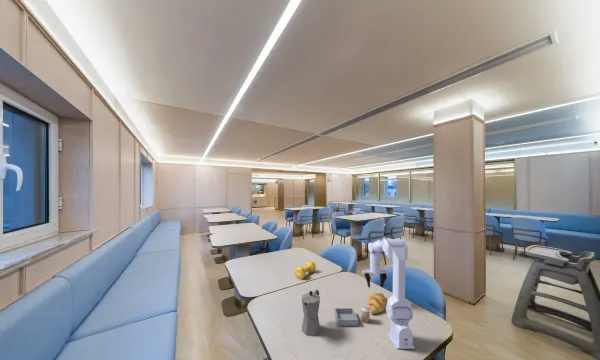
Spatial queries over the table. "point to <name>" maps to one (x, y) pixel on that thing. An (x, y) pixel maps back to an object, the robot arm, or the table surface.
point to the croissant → (377, 303)
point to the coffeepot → (311, 313)
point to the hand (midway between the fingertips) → (375, 286)
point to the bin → (345, 317)
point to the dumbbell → (305, 270)
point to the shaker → (365, 315)
